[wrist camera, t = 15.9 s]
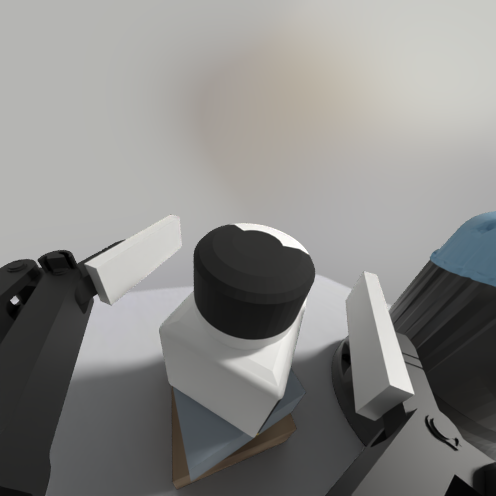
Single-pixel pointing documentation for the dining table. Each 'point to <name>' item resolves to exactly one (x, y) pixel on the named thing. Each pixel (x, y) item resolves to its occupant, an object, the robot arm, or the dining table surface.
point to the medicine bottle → (239, 323)
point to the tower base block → (257, 445)
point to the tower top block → (222, 428)
